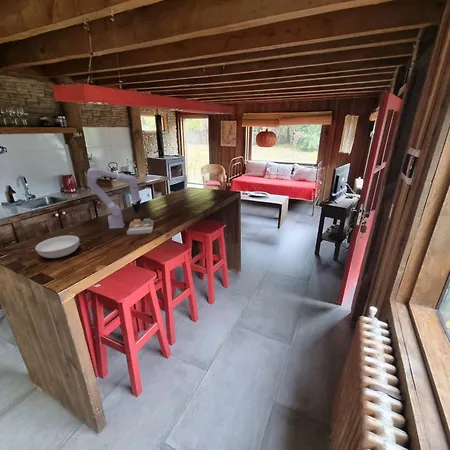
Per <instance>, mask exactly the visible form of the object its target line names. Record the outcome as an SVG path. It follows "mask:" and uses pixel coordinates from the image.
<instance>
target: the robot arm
mask: <svg viewBox="0 0 450 450" xmlns="http://www.w3.org/2000/svg"><path fill="white" fill-rule="evenodd" d="M99 177H100V178H102V177H108V178H113V179H116V180H117V181H118V182H120V183H121V182H122V183H125V184H128V185H129V192H130V199H131V201H132V203H131V204H130V205H131V206H132V208H133V210H134V213H135V214H136V213H137V214H138V213H139V210H140V209H141V201H142V198H140V197H141V196H140V191H139V186H138V185H139V184H138V182H139V180H138V179H137V178H136V176H134V175H131V174H126V173H124V172H118V173H115V172H113V171H110V170H109V171H108V170H106V169H105V170H104V169H103V168H102V169H101V168H96V167H90V168H88V170H87V172H86V180H87V185H88V187H89V188H90V190H92V191H93V193H94V194H96V196H97V197H98V198H99V199H100V200H101V201H102V202H103V203H104V204H105V205H106V207H108V209H109V210H110V212H111V214H108V216H107V221H108V227H109V229H110V230H111V229H122V228H124V227H125V226H126V223H124V219H123V218H124V217H123V213H122V209H121V208H120V205H119V204H117V203H115V202H114V200H112V199H111V198H110V197H109V196H108V195H107V194H106V193H105V192H104V190H103V189H102V188H101V187H100V185H98V184H97V181H98V180H97V179H98V178H99Z"/></svg>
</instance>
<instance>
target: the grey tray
mask: <svg viewBox="0 0 450 450" xmlns="http://www.w3.org/2000/svg"><path fill="white" fill-rule="evenodd" d="M153 229H154V225H153V226H150V227H137V228H129V227H128V230H126V235H127V236H129V235H131V236H132V235H144V234H145V235H146V234H153Z"/></svg>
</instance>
